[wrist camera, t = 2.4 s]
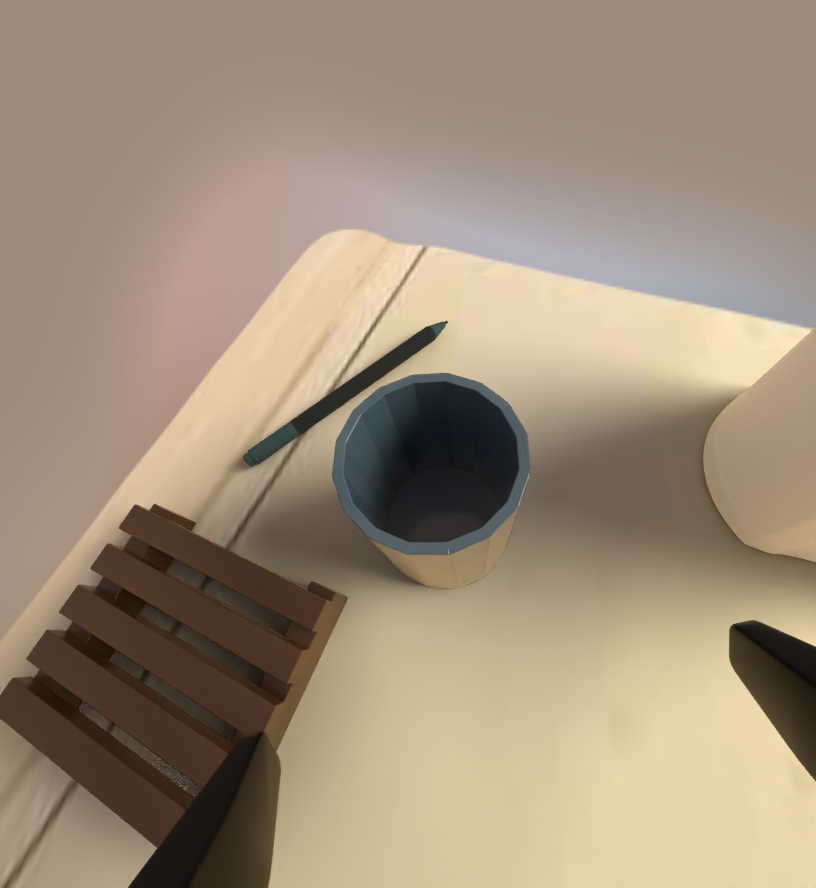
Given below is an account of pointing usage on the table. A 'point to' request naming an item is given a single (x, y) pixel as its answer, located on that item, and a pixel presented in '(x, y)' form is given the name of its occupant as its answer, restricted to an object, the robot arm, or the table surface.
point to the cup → (434, 475)
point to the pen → (342, 394)
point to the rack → (165, 668)
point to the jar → (769, 458)
